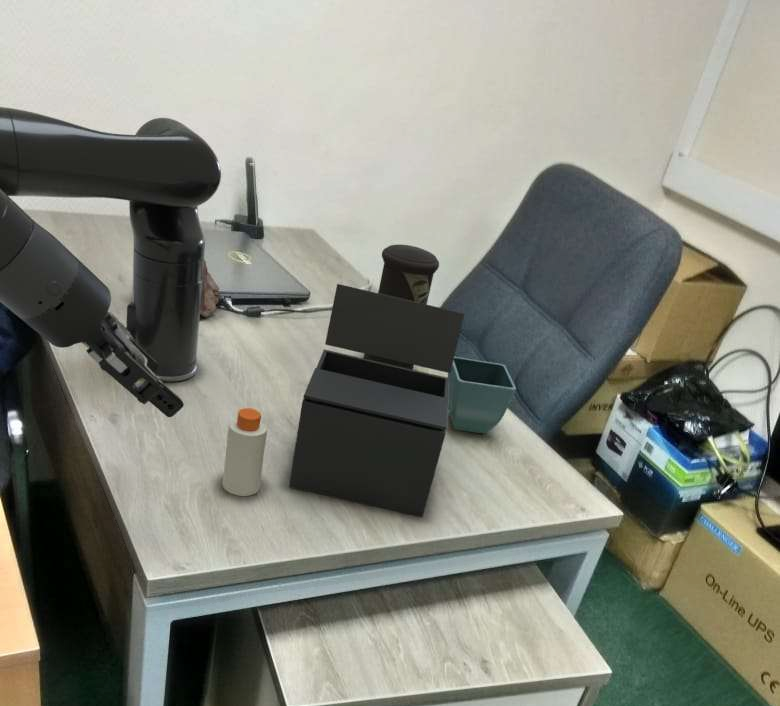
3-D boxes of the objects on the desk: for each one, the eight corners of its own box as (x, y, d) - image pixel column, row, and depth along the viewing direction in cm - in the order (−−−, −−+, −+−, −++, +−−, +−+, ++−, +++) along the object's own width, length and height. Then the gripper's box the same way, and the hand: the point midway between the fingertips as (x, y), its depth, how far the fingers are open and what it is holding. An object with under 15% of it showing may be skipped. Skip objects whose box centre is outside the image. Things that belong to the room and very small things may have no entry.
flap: (337, 283, 104) (337, 283, 104) (324, 344, 105) (325, 344, 106) (464, 313, 104) (464, 313, 105) (450, 373, 106) (450, 373, 107)
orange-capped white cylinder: (218, 491, 96) (225, 417, 90) (227, 472, 99) (235, 401, 94) (254, 499, 96) (264, 426, 90) (262, 480, 99) (272, 409, 94)
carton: (288, 487, 99) (303, 395, 92) (310, 428, 113) (324, 343, 106) (422, 517, 100) (447, 427, 93) (428, 454, 113) (450, 372, 106)
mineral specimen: (180, 348, 136) (115, 292, 137) (232, 310, 142) (169, 257, 144) (184, 302, 126) (114, 243, 127) (240, 263, 132) (172, 207, 134)
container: (407, 385, 131) (436, 264, 120) (354, 370, 131) (378, 249, 120) (416, 366, 138) (445, 250, 127) (366, 352, 138) (390, 235, 127)
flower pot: (435, 407, 126) (449, 354, 121) (489, 415, 128) (505, 363, 123) (443, 434, 119) (458, 380, 114) (499, 443, 121) (517, 389, 116)
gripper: (0, 282, 77) (120, 383, 90) (29, 346, 68) (158, 449, 80) (57, 229, 77) (169, 337, 89) (94, 286, 68) (213, 399, 80)
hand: (164, 390), depth 85 cm, fingers open, 8 cm apart
